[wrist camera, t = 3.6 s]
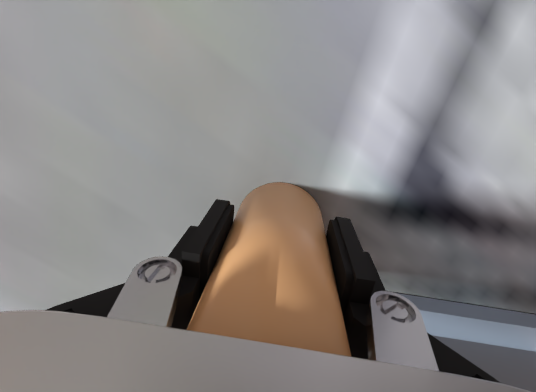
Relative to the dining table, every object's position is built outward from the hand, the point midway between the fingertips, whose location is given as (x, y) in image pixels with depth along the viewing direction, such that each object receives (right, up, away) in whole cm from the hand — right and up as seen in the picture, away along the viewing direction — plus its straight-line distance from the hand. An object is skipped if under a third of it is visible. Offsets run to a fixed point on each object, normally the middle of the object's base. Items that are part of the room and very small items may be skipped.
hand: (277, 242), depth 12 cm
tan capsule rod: (0, +1, +2) cm, 2 cm away
